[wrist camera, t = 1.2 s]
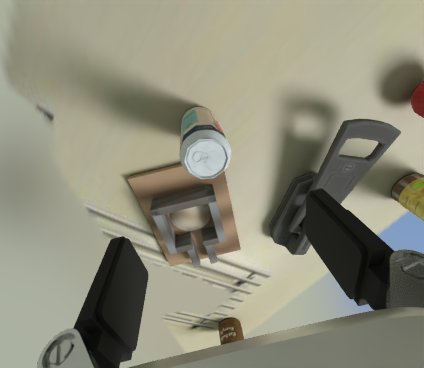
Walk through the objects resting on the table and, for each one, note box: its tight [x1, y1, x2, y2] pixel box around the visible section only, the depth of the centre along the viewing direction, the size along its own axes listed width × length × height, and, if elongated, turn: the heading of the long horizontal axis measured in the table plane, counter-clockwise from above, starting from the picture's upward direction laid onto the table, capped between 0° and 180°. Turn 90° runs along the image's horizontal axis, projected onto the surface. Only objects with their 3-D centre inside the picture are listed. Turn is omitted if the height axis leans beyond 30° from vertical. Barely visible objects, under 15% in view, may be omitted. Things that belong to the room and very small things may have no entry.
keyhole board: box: [128, 164, 241, 268], centre depth 35 cm, size 20×14×4 cm
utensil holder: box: [219, 318, 244, 345], centre depth 51 cm, size 6×6×12 cm
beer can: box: [180, 107, 231, 179], centre depth 24 cm, size 5×5×12 cm
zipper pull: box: [270, 119, 401, 255], centre depth 34 cm, size 9×7×25 cm
